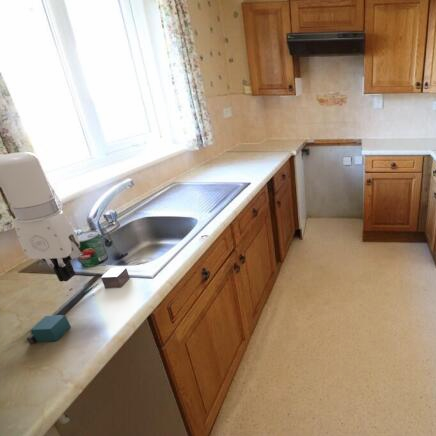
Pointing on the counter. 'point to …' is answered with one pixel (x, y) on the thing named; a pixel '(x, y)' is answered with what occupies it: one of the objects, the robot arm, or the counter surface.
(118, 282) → the walnut block
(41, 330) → the teal block
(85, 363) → the counter surface
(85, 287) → the rail
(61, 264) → the robot arm
